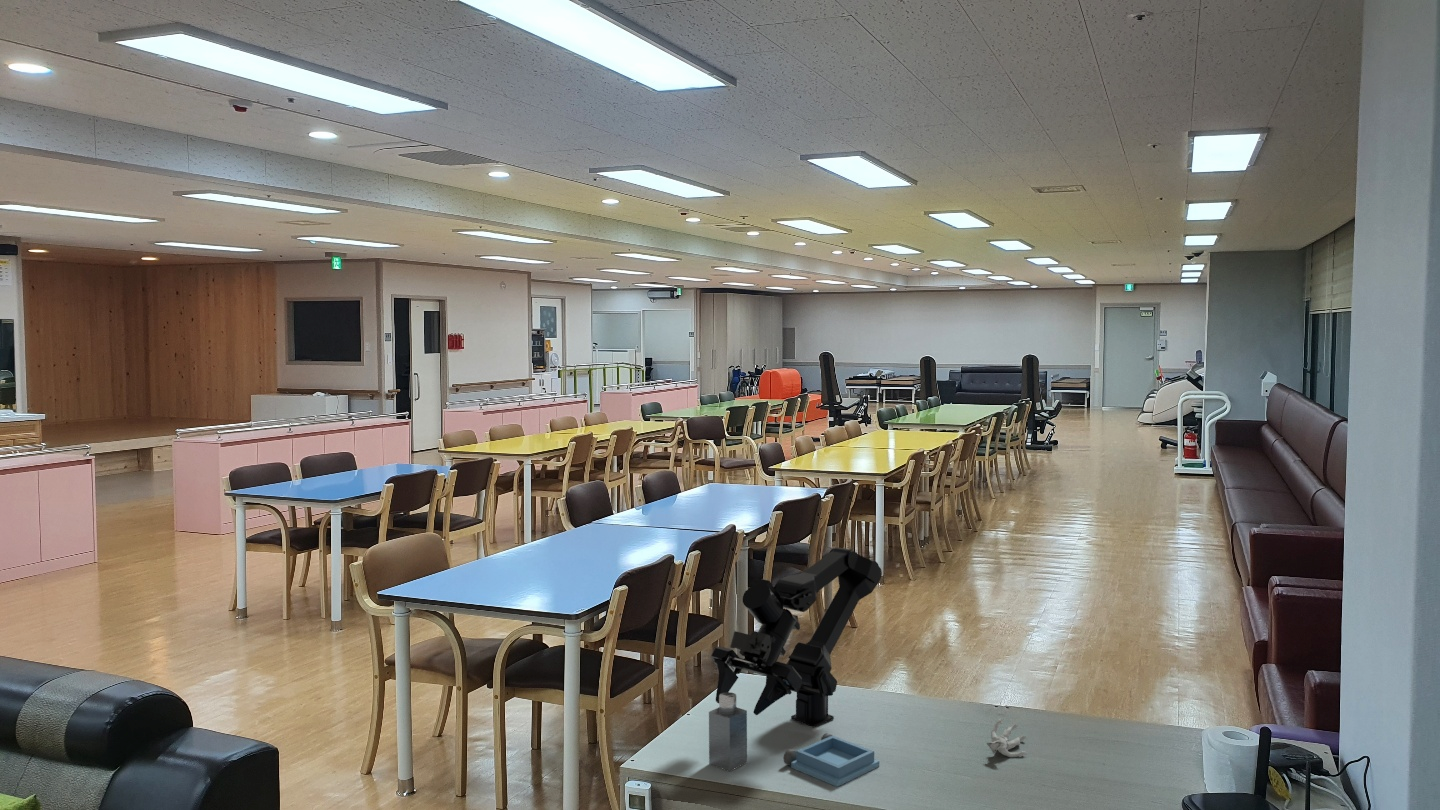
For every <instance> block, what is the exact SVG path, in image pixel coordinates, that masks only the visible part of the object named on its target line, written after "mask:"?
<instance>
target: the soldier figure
mask: <svg viewBox="0 0 1440 810" xmlns="http://www.w3.org/2000/svg"><path fill="white" fill-rule="evenodd" d="M1002 721H1004V719H1003V718H999V719H998V720H997V721H996V722H995V723H994V725H993V727H992V729H991V731H990V739H991V742H987V743H986V745H987V746H988V748H989V749H990V750H991V751H992V754H993V755H995V754H996V753H997V751H998V752H999V753H1000V754H1002V755H1003V756H1005V757H1008V758H1016V757H1018V758H1019V757H1020V756H1021V757H1024V756H1025V755H1026V756H1027V753H1026V751H1025V750H1022V751H1020V752H1010V751H1009V750H1012V749H1013V748H1015V747H1017V746H1020V745H1021V741H1024V740H1025V739H1026V738H1027V737H1026V734H1023V735H1019V736H1018V737H1016V738H1014V739H1012V740H1009V737H1010V736H1011V734H1012V732H1013V731H1014V730H1016V729H1017V728H1018V727H1019V726H1018V724H1017V723H1014V724H1013V725H1011V726H1008V727H1006V728H1005V729H1004V730H1003V733H1002V734H1001V735H997V732H998V728H999V725H1002V724H1003V722H1002Z"/></svg>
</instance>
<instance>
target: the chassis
mask: <svg viewBox="0 0 1440 810" xmlns="http://www.w3.org/2000/svg"><path fill="white" fill-rule="evenodd" d="M782 761H783V763H784V764H785V765H788V766H790V768H791V769H794V770H796V771H799V772H801V773H803V774H805V775H808V776H811V777H813V778H816V779H817V780H819V781H823V782H825V783H827V784H829V785H832V786H834V787H840V786H841V785H844V784H845V783H848V782H850V781H853V780H854V779H856V778H858V777H860V776H863V775H865V774H866V773H868V772H870V771H872V770H875V769H876V768H878V767H880V760H878V759H875V750H873V749H869V748H867V747H864V746H861V745H859V744H856V743H853V742H851V741H848V740H845V739H843V738H840V737H837V736H835V735H832V734H831V733H824V734H823V735H822V736H821V739H820V740H819V741H818V740H817V742H815V743H812V744H809V745H807V746H805V747H802V748H801V749H798V750H794V749H792V748H788V749H787V750H785V752H784V754H783V760H782Z"/></svg>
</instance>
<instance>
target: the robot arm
mask: <svg viewBox="0 0 1440 810" xmlns="http://www.w3.org/2000/svg"><path fill="white" fill-rule="evenodd" d="M882 576H883V575H882V568H881V566H879V563H878V562H877V561H876V560H871V559H869V558H867V557H864V556H862V555H860V554H858V553H857V552H856V551H855V550H853V549H851V548H850V549H849V548H843V547H837V546H836V547H833V548H831V549H830V551H829V553H827V554H826V555H825V556H824V557H822V558H821V559H819V560H818V561H817V562H815V563H814V564H812V565H811V566H809V567H808V568H807V569H806V570H804V571H803V572H801V573H797V574H789V575H787V576H785V577H782V578H780V579H778V581H777V582H775V584H774V585H773V583H772V582H771V581H770V580H769V579H764V578H761V579H760V581H759V582H758V583H756V584H753V585H752V586H750V587H749V588H747V590H745V591H744V593H743V595H742V604H743V606H744V607H745V608H746V609H747V610H748V612H749V613H750V614H751V615H752V617H754V619H755V620H756V622H758V623H759V624H761V626H760V628H759V629H758V631H754V630H753V631H752V632H751V633H750V634H748V633H744V632H740V631H737V630H734V631H733V635H732V638H731V642H730V646H729V648H728V647H724V646H716V647H714V649H713V651H712V653H711V654H710V658H711V659H712V661H713V663H714V664H715V666H716V667H717V670H718V679H717V687H716V695H715V702H716V704H719V695H720V694H721V693H725V692H730V691H731V689H732V688H733V686H734V685H735V683H736V682H737V680H738V679H739V676H738V674H740V673H741V672H742V670H744V671H747V672H750V673H751V672H752V673H754V674H757V675H758V674H759V675H761V676H765V686H764V688H763V690H762V692H761V694H760V696H759V698H758V700H757V702H756V704H755V706H754V709H753V711H752V712H753V714H754V715H755V716H758V715H760V714H761V713H762V712H764V711H765V710H766V709H767V708H769V707H770V706H771V705H773V704H774V703H775V702H777V701H778V700H780V699H782V698H783V697H785V696H786V695H791V694H792V692H793V693H796V699H795V714H792V715H791V716H790V718H791V720H794V721H796V722H799V723H802V724H804V725H807V726H810V727H813V728H815V727H817V726H820V725H822V724H825V723H828V722H829V721H832V720H834V719H835V718H834V717H835V716H834V715H831V714H829V697H832V696H833V695H834V693H835V692H836V691H837V686H838V681H837V679H836V678H835V676H834V675H833V674H832V673H831V671H832V669H833V668H832V659H831V654H832V652H833V650H834V648H835V646H836V644H837V643H838V641H839V639H840V637H841V635H842V634H843V632H844V629H845V628H846V626H847V624H848V622H849V620H850V618H851V616H852V614H853V612H854V611H855V608H856V607H857V605H858V604H859V602H860V601H861V600H862V599H863V598H865V597H867V596H869V595H870V594H872V593H873V591H874V589H876V587H877V586H878V585H879V582H881V579H882ZM836 578H837V579H838V589H837V591H836V593H835V595H834V596H833V599H832V600H831V602H830V603H829V606H828V607H827V608H826V610H825V612H824V614H823V616H822V618H821V620H820V622H819V623H818V626H817V628H816V629H815V631H814V632H813V634H812V636H811V638H810V640H809V641H808V642H806V643H803V642H797V644H796V645H794V648H793V650H792V652H791V654H790V655H789V656H788V661H787V662H786V663H784V662H780V661H778V659H779V657H780V656H783V657H784V656H785V654H786V652H787V650H785V648H784V646H785V645H786V643H787V641H788V639H789V636H790V635H791V633H792V631H793V630H796V631H800V630H801V624H800V621H799V616H798V615H795V614H793V613H792V612H791V611H792V610H793V611H797V612H800V613H805V612H806V611H808V610H809V609H810V608H811V607H812V606H813V604H814V603H815V602H816V601H817V596H818V593H819V592H820V591H821V590H822V589H824V588H825V587H826V586H828V585H829V584H830V583H831V582H833V581H834V580H835V579H836ZM790 610H791V611H790ZM731 648H732V649H731ZM734 649H737V650H740V651H738V652H739V654H740V655H741V656H742V657H744V658H742V657H740V656H739V655H738V654H737V653H736V651H734Z"/></svg>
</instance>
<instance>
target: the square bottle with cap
mask: <svg viewBox="0 0 1440 810" xmlns="http://www.w3.org/2000/svg"><path fill="white" fill-rule="evenodd" d="M718 706H719V707H716V708H715V709H712V710H710V711H708V742H709V743H708V760H709V761H708V763H709V765H710V764H711V766H713V765H714V766H713V767H716V766H717V767H716V768H718V769H721V768H723V769H722V770H724V769H725V770H724V771H727V770H728V772H732V771H734V770H735V769H734V768H736V767H738V766H739V767H741V766H743V765H745V764H747V763H748V710H747V709H744V708H740V707H737V694H736V693H733V692H730V691H729V692H725V693H721V694H720V695H719V703H718ZM746 762H747V763H746ZM744 763H745V764H744ZM742 764H743V765H742ZM740 765H741V766H740ZM739 767H738V768H739ZM733 769H734V770H733ZM736 769H737V768H736ZM731 770H732V771H731Z"/></svg>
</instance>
